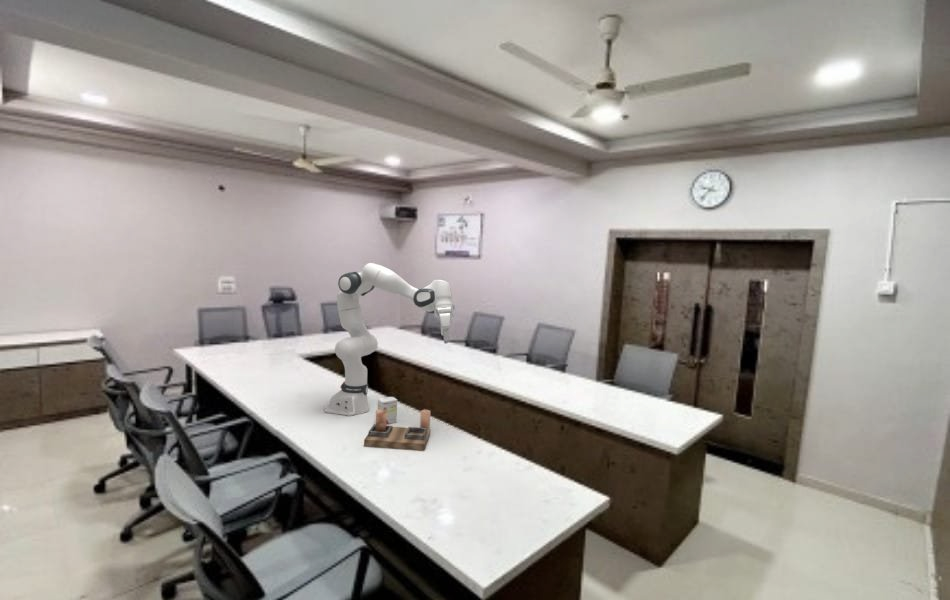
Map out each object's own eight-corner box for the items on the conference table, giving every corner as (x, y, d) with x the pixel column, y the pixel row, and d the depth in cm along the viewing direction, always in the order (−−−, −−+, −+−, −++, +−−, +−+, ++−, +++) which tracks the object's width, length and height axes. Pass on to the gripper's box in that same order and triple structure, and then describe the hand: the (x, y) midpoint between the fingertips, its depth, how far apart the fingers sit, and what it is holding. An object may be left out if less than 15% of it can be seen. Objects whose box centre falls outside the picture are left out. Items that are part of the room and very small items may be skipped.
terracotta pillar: (419, 433, 210) (419, 412, 209) (420, 429, 215) (421, 409, 214) (428, 434, 210) (429, 413, 209) (430, 430, 214) (431, 409, 213)
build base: (364, 446, 193) (364, 416, 192) (374, 431, 209) (375, 404, 208) (424, 450, 192) (425, 421, 191) (429, 435, 208) (431, 408, 207)
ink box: (380, 425, 216) (381, 401, 215) (376, 422, 220) (377, 398, 219) (396, 422, 222) (397, 399, 220) (392, 419, 226) (393, 396, 224)
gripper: (437, 317, 222) (439, 345, 219) (437, 308, 202) (440, 339, 199) (449, 316, 223) (452, 344, 220) (451, 307, 203) (454, 337, 200)
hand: (446, 341), depth 209 cm, fingers open, 8 cm apart
